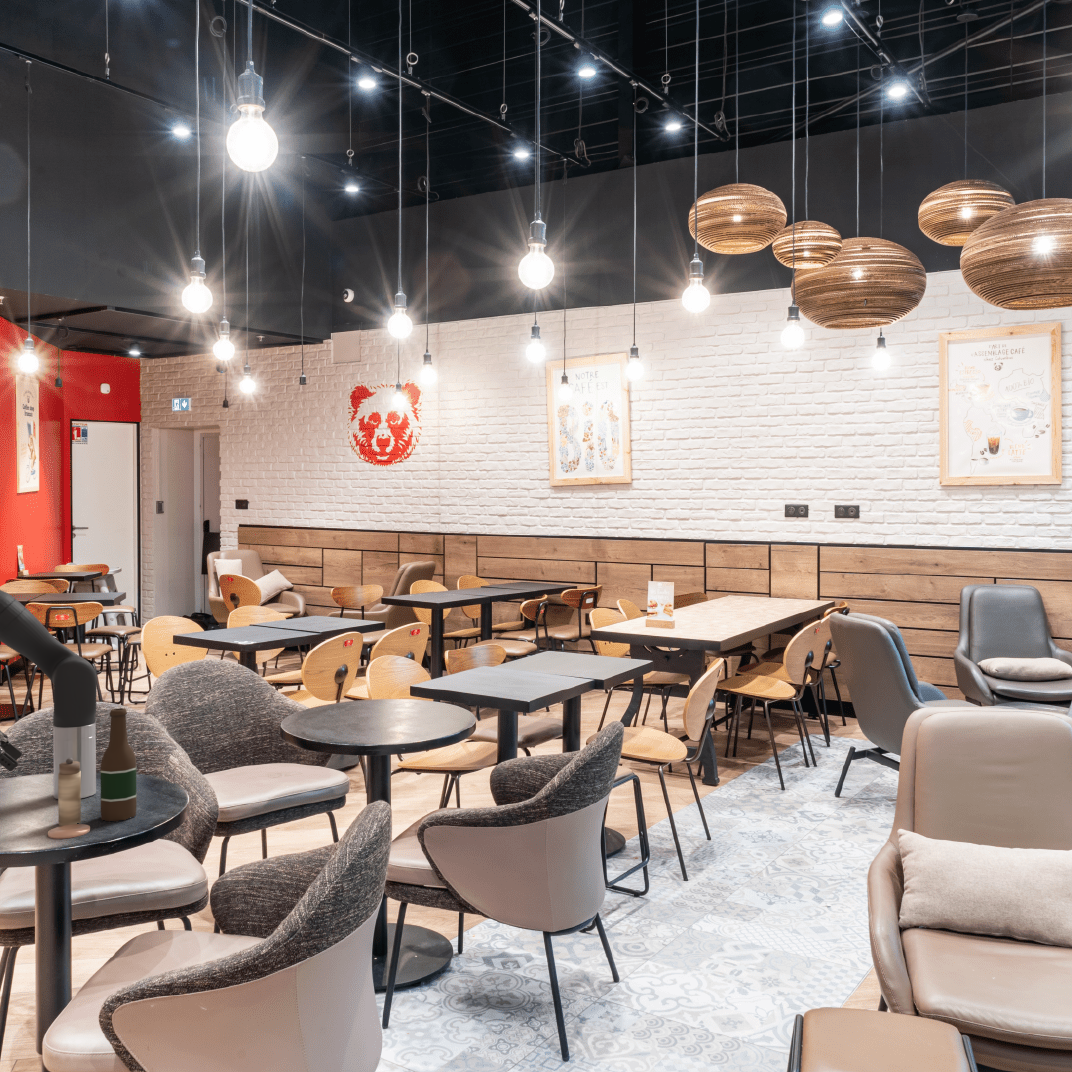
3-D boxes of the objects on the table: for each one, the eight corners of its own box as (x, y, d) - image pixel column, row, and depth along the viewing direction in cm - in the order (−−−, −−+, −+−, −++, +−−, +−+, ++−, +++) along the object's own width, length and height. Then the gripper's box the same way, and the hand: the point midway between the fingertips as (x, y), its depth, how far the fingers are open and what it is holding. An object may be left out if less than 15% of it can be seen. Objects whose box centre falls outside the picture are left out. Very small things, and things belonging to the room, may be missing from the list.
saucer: (58, 827, 204) (58, 824, 204) (96, 826, 204) (96, 823, 204) (40, 839, 196) (40, 836, 196) (80, 838, 196) (80, 835, 196)
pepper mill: (63, 820, 209) (63, 755, 209) (84, 819, 209) (84, 755, 209) (54, 826, 205) (54, 760, 205) (75, 825, 205) (75, 760, 205)
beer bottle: (128, 822, 207) (127, 712, 208) (93, 822, 208) (92, 712, 208) (143, 811, 215) (143, 706, 215) (109, 811, 215) (109, 706, 215)
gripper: (-54, 719, 204) (6, 767, 209) (-66, 733, 191) (-2, 785, 196) (-25, 693, 206) (34, 741, 211) (-35, 706, 193) (28, 757, 198)
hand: (17, 762), depth 203 cm, fingers open, 8 cm apart
